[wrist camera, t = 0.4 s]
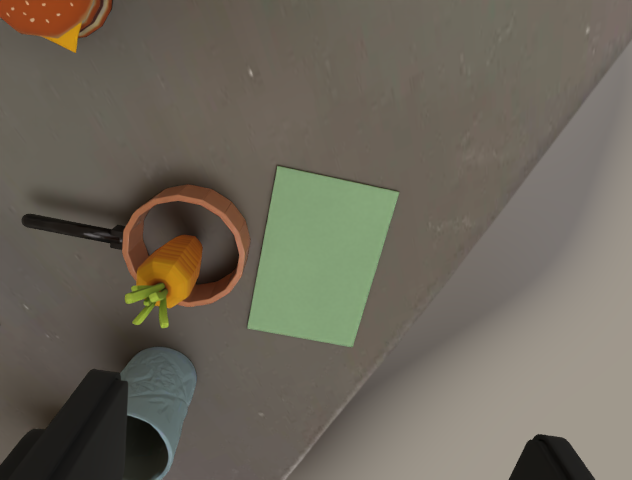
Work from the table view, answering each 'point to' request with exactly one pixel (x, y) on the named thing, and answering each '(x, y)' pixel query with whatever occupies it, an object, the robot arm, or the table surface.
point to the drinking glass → (155, 410)
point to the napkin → (319, 256)
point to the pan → (133, 243)
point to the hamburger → (56, 18)
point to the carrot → (167, 277)
